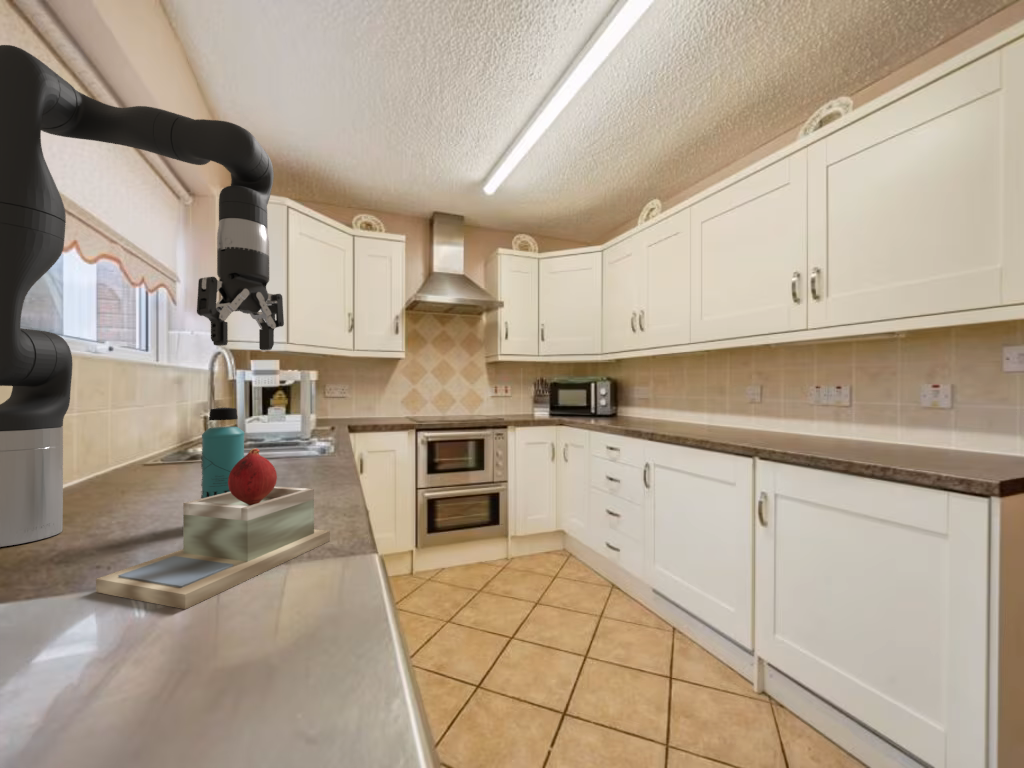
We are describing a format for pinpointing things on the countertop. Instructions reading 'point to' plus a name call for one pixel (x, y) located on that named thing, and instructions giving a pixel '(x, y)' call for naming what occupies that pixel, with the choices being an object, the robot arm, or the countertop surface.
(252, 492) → the onion
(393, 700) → the countertop surface
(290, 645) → the countertop surface
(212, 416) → the beverage bottle
